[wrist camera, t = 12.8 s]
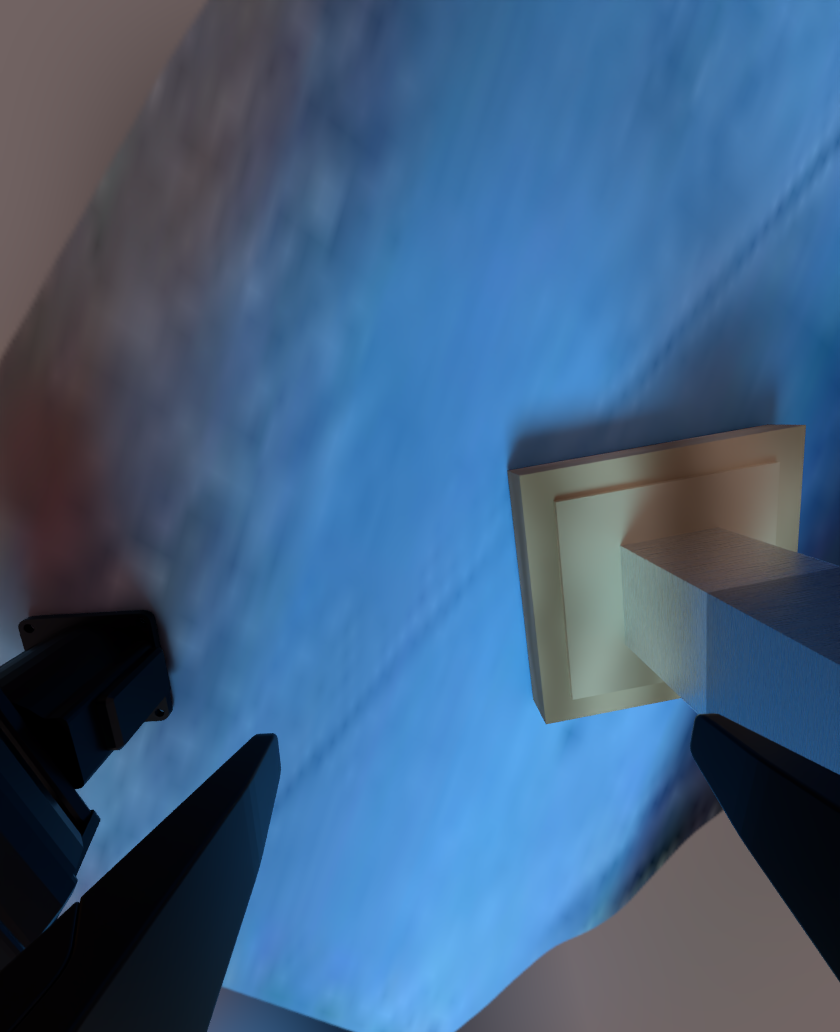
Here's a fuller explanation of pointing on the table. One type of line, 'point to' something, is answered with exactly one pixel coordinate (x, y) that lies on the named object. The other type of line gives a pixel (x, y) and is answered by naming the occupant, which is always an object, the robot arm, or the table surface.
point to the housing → (741, 633)
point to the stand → (625, 520)
